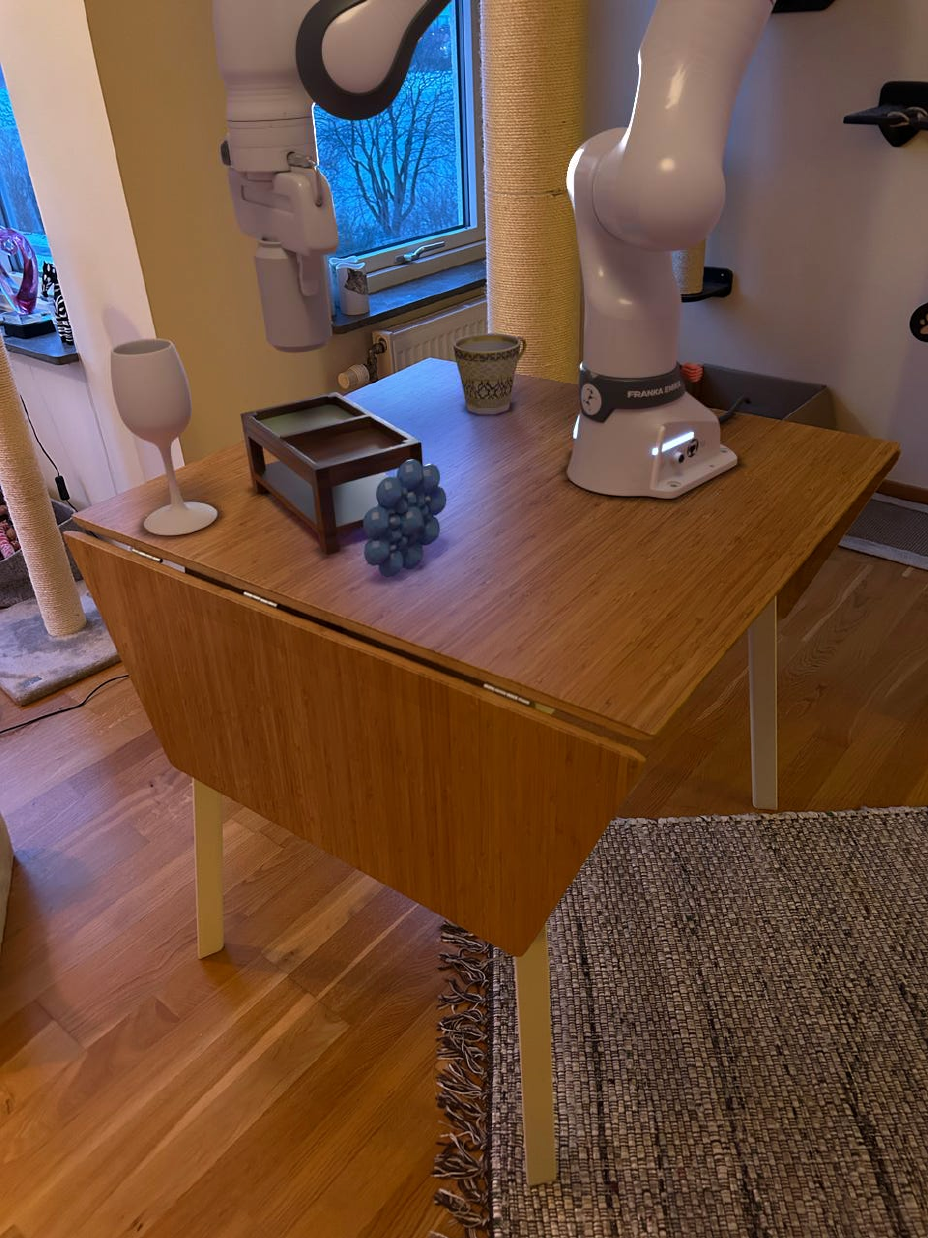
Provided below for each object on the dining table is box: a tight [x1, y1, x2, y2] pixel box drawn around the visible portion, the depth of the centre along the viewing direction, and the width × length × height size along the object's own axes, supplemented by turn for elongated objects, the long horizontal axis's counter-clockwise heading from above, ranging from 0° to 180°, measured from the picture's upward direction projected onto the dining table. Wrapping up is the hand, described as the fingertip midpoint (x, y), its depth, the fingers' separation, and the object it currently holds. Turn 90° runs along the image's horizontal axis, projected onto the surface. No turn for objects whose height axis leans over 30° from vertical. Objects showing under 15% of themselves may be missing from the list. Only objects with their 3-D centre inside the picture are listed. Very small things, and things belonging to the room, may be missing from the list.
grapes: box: [363, 459, 447, 579], centre depth 96 cm, size 12×7×12 cm, turn 138°
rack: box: [239, 391, 424, 556], centre depth 110 cm, size 13×22×10 cm, turn 33°
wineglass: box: [110, 337, 218, 536], centre depth 105 cm, size 9×9×21 cm
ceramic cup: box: [452, 332, 527, 415], centre depth 139 cm, size 13×10×10 cm
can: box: [253, 236, 333, 354], centre depth 103 cm, size 8×8×12 cm
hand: (292, 287), depth 103 cm, fingers closed on can, 7 cm apart
